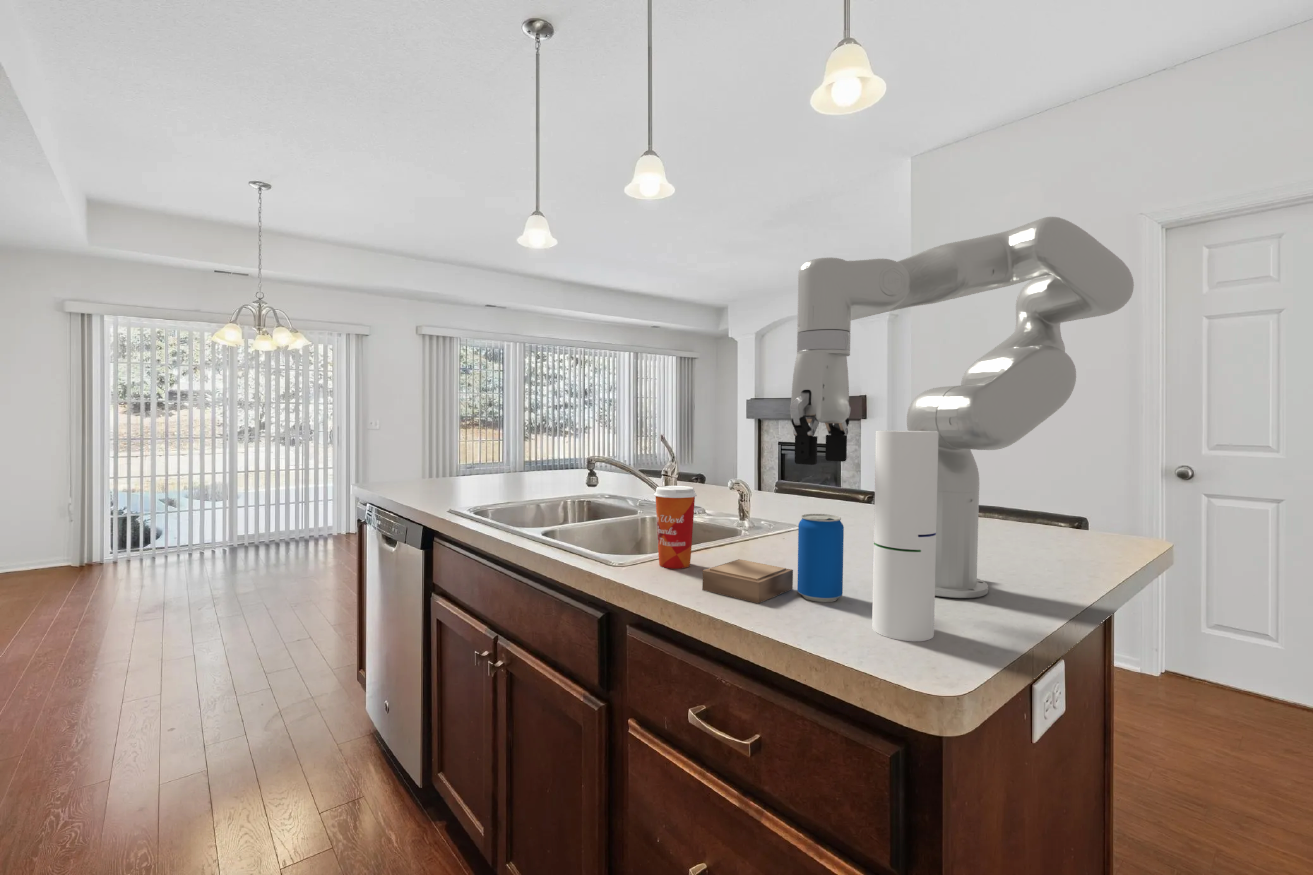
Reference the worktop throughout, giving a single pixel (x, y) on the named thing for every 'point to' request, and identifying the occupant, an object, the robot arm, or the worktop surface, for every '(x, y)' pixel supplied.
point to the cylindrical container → (905, 534)
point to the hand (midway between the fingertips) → (821, 462)
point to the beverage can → (820, 557)
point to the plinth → (748, 580)
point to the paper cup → (675, 525)
